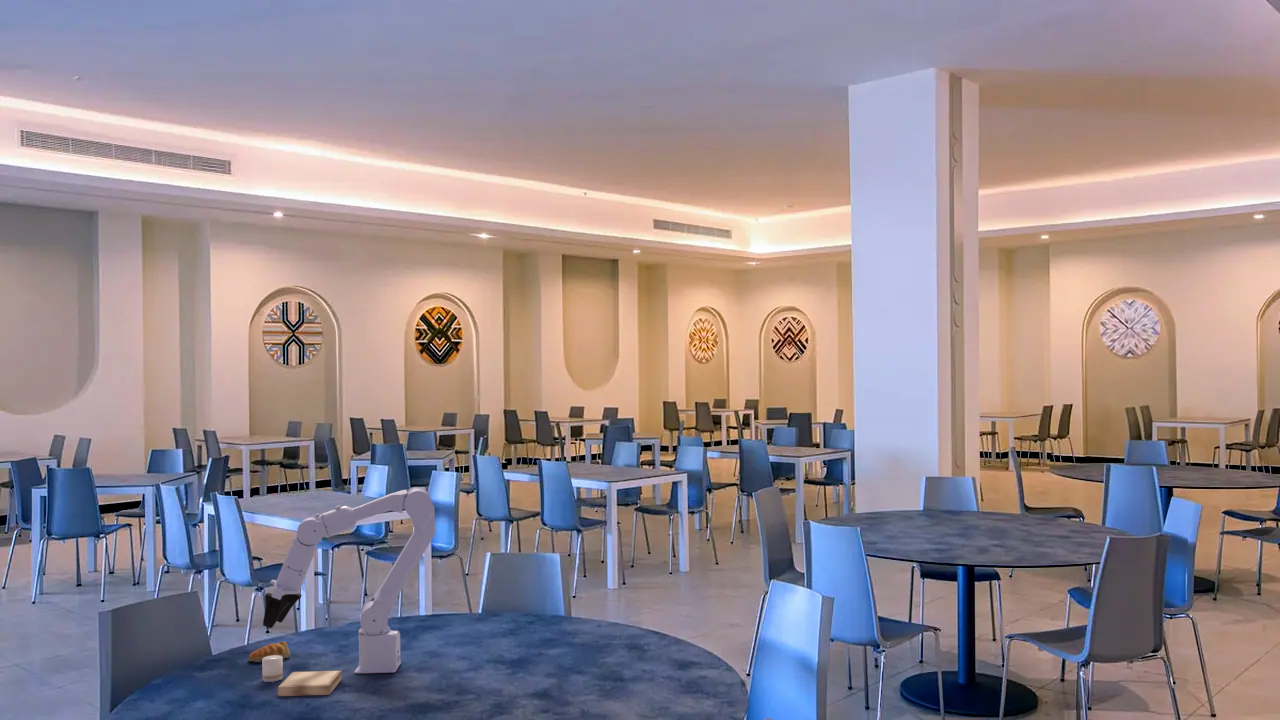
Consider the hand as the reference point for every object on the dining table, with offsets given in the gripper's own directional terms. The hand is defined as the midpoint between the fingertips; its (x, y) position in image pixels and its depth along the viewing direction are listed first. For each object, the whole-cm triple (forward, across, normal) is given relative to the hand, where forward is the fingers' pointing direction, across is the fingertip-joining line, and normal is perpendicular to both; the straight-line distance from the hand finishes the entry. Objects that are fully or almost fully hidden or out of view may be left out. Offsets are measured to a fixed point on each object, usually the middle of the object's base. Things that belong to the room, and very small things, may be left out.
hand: (272, 623), depth 234 cm
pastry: (+13, -17, 0) cm, 22 cm away
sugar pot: (+12, 0, +5) cm, 13 cm away
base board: (+8, +8, +15) cm, 19 cm away
